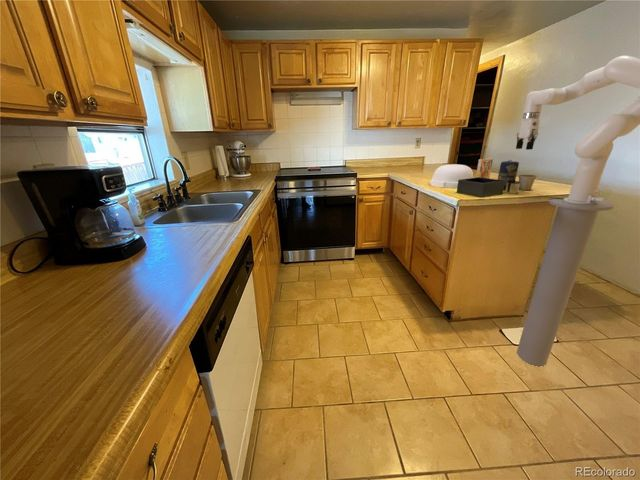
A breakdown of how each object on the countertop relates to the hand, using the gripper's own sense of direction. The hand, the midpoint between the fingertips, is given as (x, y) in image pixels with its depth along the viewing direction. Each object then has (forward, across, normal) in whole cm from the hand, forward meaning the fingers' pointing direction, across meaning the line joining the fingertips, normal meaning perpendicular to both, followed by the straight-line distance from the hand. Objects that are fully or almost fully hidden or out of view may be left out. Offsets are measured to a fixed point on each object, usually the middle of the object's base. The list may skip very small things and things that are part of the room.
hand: (523, 149), depth 153 cm
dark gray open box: (+25, -1, +21) cm, 32 cm away
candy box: (+25, +53, -5) cm, 59 cm away
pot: (+25, -1, +2) cm, 25 cm away
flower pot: (+25, +7, -10) cm, 28 cm away
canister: (+25, +11, 0) cm, 28 cm away
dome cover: (+25, +33, +26) cm, 49 cm away
